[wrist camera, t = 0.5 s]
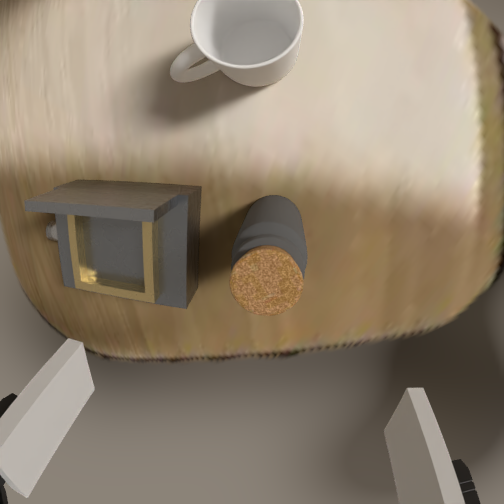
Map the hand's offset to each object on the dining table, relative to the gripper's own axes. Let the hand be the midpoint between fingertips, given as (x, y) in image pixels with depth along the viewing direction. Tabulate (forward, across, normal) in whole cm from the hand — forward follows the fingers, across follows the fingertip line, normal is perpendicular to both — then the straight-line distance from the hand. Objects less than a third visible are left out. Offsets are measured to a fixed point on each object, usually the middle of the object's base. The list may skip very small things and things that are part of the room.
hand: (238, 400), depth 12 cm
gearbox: (+25, -17, -3) cm, 30 cm away
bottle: (+25, 0, 0) cm, 25 cm away
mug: (+25, -5, +17) cm, 31 cm away
